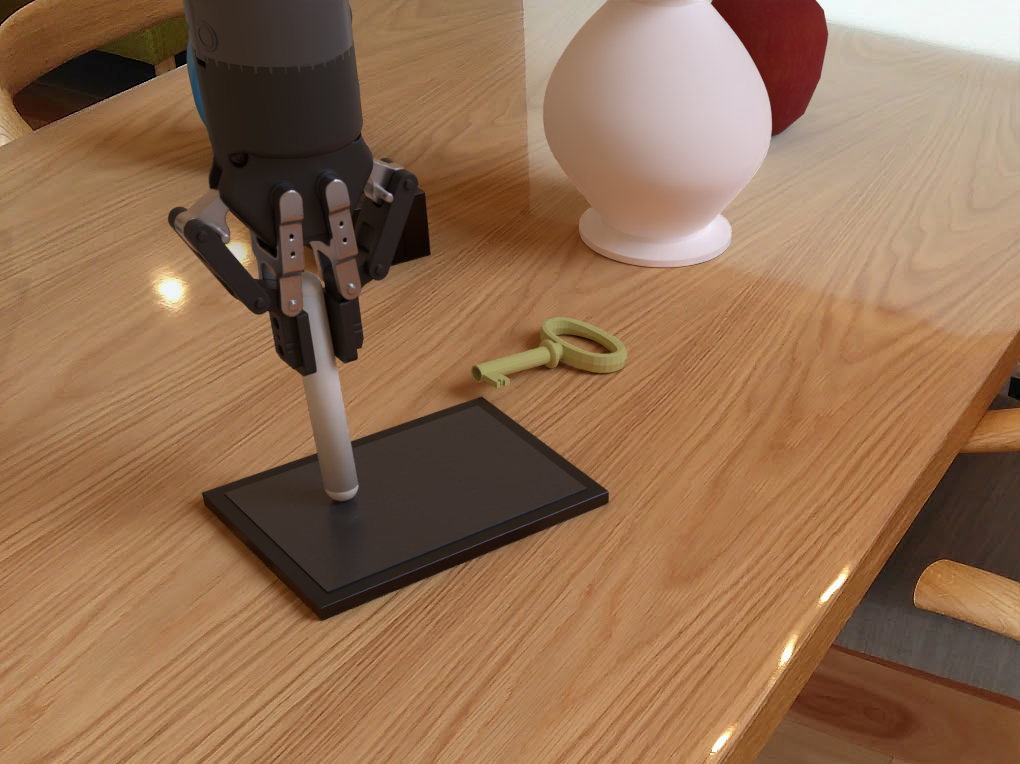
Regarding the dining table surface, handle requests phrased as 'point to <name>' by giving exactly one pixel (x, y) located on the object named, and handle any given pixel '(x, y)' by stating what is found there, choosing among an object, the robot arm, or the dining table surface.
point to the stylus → (327, 400)
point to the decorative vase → (657, 128)
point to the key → (556, 353)
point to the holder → (407, 230)
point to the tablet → (404, 505)
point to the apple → (781, 49)
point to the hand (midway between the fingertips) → (322, 361)
